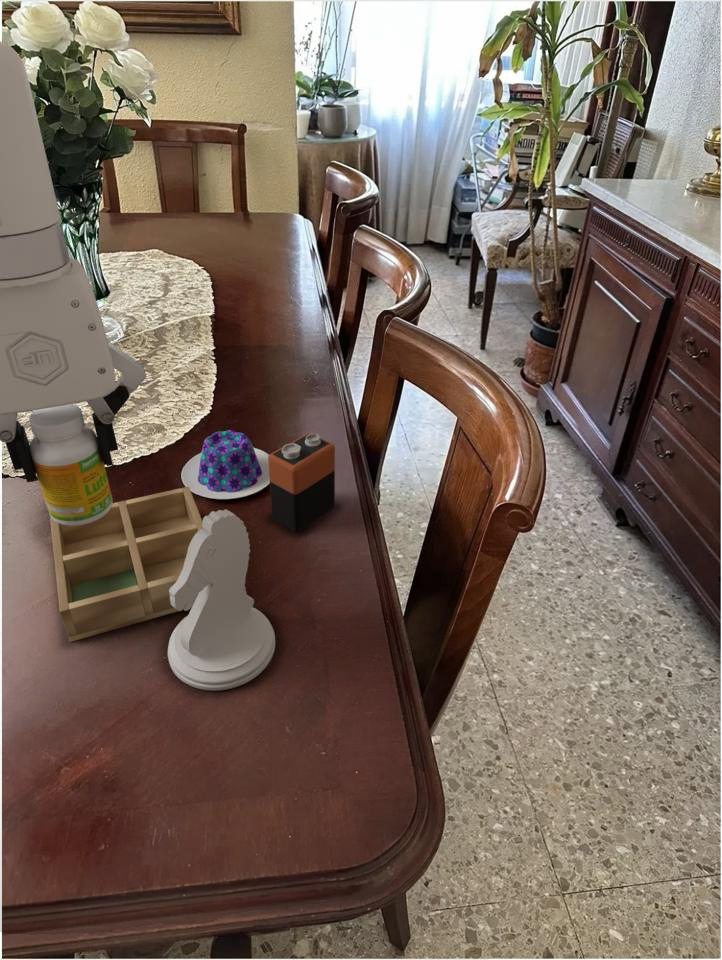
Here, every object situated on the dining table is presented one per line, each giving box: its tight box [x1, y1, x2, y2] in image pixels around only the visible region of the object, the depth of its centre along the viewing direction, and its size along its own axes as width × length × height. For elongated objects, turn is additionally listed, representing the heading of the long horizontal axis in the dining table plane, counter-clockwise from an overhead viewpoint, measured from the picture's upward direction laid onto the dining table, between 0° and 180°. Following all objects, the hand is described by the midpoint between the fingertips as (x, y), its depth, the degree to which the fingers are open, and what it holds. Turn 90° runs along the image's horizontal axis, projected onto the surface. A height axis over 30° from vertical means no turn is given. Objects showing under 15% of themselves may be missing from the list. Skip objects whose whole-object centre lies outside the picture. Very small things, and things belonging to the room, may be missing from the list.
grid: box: [49, 486, 203, 643], centre depth 69 cm, size 15×15×4 cm
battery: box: [268, 432, 336, 533], centre depth 76 cm, size 4×7×10 cm, turn 140°
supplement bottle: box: [28, 404, 113, 526], centre depth 56 cm, size 5×5×10 cm
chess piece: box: [167, 508, 276, 691], centre depth 57 cm, size 10×10×15 cm
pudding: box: [180, 429, 270, 500], centre depth 83 cm, size 12×12×5 cm
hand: (69, 463), depth 56 cm, fingers closed on supplement bottle, 5 cm apart
